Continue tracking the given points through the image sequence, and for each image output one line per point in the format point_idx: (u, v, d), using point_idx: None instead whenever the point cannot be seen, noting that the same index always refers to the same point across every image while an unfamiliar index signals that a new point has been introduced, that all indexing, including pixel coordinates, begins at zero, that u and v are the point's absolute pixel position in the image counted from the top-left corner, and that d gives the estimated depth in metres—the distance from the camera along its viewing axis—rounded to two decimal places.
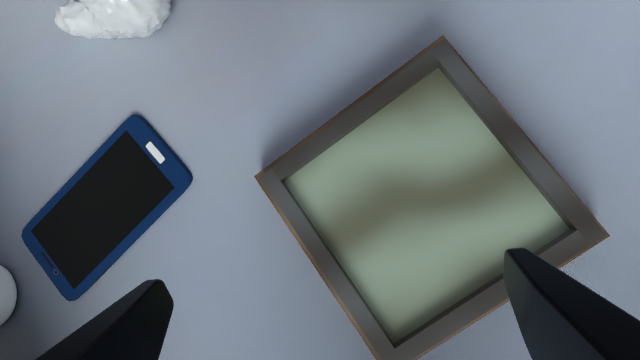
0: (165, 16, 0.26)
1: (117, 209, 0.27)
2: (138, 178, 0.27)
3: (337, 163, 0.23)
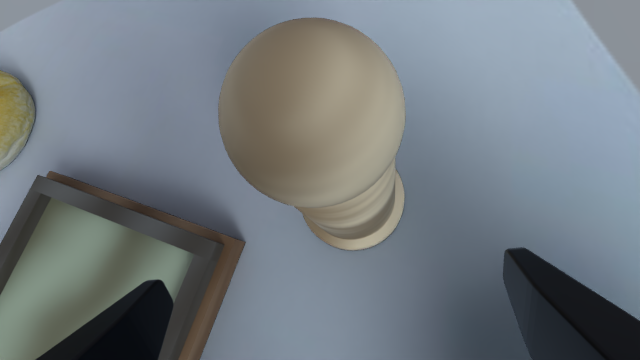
0: None
1: None
2: None
3: None
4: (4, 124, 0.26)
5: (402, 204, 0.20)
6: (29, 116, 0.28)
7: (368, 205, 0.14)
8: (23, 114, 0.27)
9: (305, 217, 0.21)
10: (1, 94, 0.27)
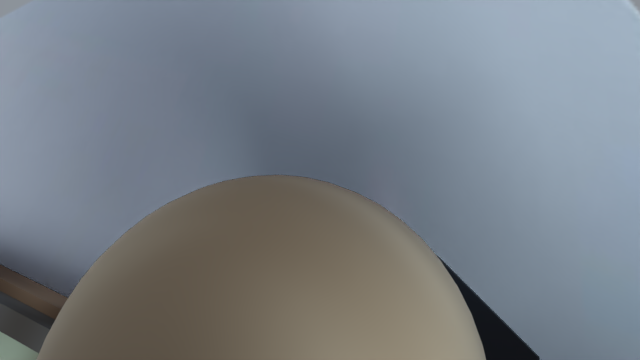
0: None
1: None
2: None
3: None
4: None
5: None
6: None
7: None
8: None
9: None
10: None
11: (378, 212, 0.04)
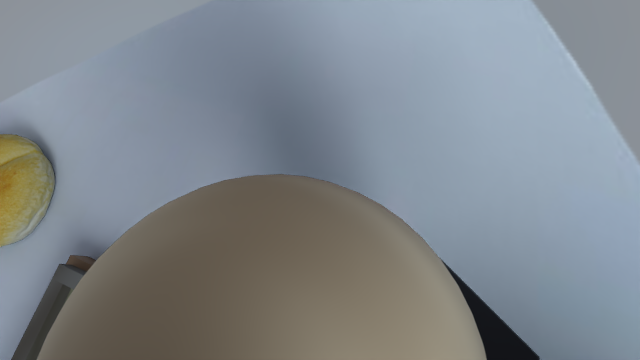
0: None
1: None
2: None
3: None
4: (26, 198, 0.26)
5: None
6: (50, 186, 0.28)
7: None
8: (44, 185, 0.27)
9: None
10: (22, 166, 0.27)
11: (378, 211, 0.04)
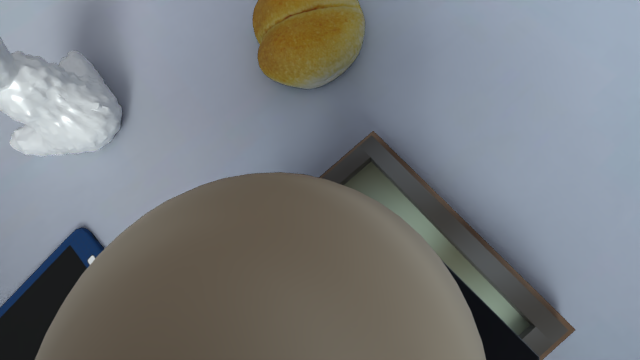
0: (114, 131, 0.27)
1: None
2: None
3: None
4: (345, 51, 0.24)
5: None
6: (359, 49, 0.26)
7: None
8: (358, 46, 0.25)
9: None
10: (352, 17, 0.25)
11: (377, 209, 0.04)
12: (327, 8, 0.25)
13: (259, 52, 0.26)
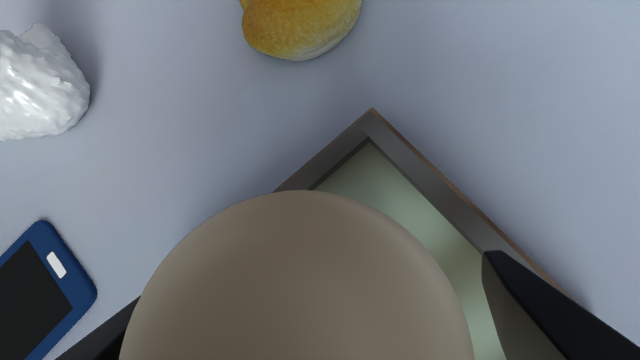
0: (79, 111, 0.24)
1: (2, 340, 0.22)
2: (32, 298, 0.22)
3: None
4: (340, 16, 0.21)
5: None
6: (357, 16, 0.23)
7: None
8: (356, 11, 0.22)
9: None
10: None
11: (386, 221, 0.06)
12: None
13: (243, 19, 0.23)
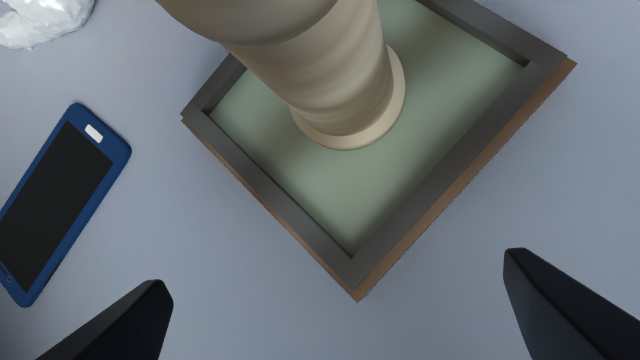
0: (87, 3, 0.27)
1: (62, 199, 0.26)
2: (80, 163, 0.26)
3: (258, 80, 0.21)
4: None
5: (403, 84, 0.17)
6: None
7: (348, 56, 0.11)
8: None
9: (296, 121, 0.19)
10: None
11: None
12: None
13: None
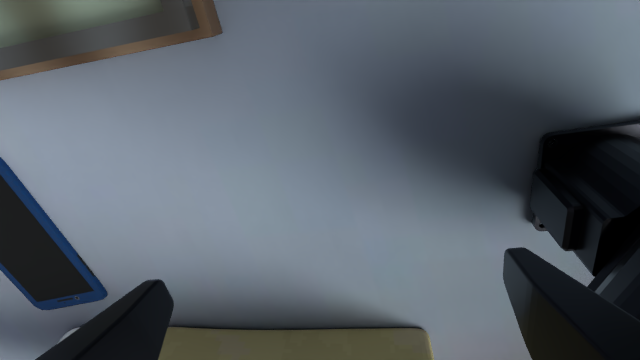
0: None
1: (20, 231, 0.27)
2: None
3: None
4: None
5: None
6: None
7: None
8: None
9: None
10: None
11: None
12: None
13: None
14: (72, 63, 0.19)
